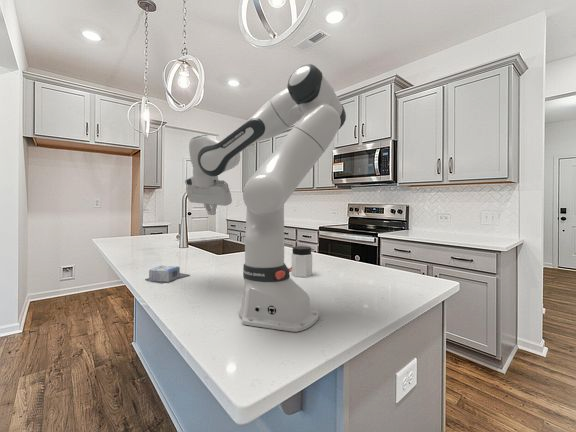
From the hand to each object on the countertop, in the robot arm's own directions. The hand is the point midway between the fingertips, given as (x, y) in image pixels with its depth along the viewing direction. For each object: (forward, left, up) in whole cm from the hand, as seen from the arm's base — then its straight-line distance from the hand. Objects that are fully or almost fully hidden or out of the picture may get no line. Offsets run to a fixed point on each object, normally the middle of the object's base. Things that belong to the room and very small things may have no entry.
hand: (211, 214), depth 117 cm
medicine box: (+13, +7, -24) cm, 28 cm away
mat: (+19, +5, -26) cm, 33 cm away
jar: (-27, -27, -27) cm, 46 cm away
